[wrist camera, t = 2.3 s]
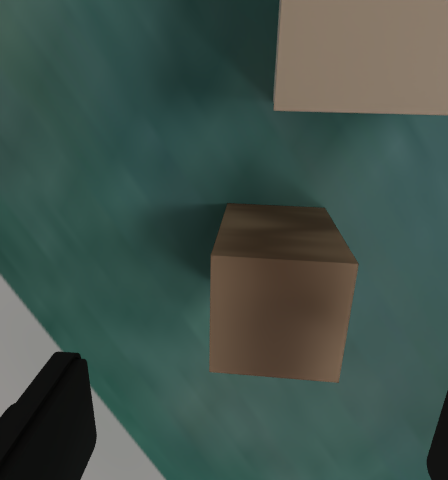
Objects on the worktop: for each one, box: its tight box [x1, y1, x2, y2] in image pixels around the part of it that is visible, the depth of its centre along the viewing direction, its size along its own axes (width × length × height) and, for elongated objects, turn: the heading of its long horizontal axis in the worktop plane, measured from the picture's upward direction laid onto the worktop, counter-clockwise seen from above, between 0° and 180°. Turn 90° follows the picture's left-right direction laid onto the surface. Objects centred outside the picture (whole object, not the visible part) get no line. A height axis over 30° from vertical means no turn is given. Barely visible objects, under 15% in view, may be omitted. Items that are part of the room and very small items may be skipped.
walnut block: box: [209, 203, 359, 383], centre depth 17 cm, size 5×5×7 cm
